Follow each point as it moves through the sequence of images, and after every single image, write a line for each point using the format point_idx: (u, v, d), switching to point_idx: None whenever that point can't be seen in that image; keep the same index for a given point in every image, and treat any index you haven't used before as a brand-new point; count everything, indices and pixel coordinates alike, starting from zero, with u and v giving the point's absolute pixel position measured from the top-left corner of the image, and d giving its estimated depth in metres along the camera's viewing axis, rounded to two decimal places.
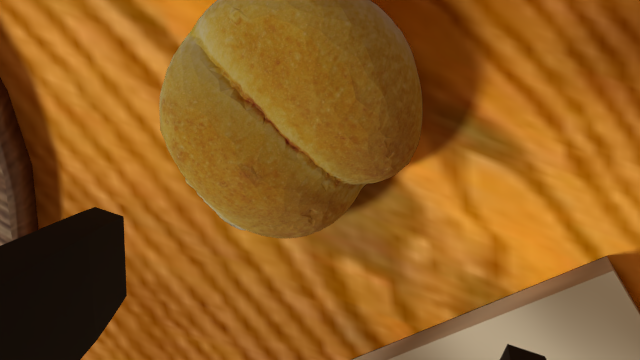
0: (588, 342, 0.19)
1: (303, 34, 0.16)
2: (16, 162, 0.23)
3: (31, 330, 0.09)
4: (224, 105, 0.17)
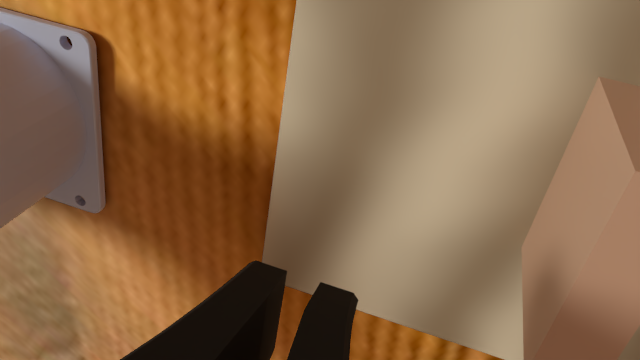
0: None
1: None
2: None
3: None
4: None
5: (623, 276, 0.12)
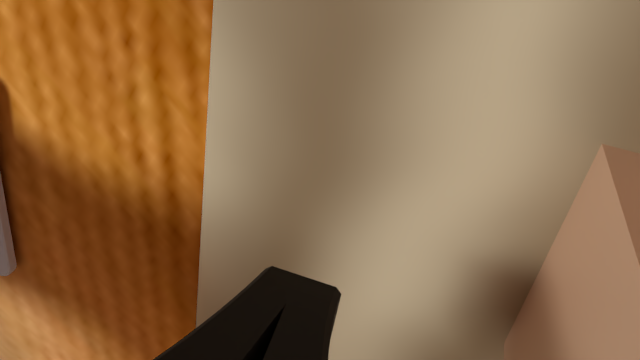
0: None
1: None
2: None
3: None
4: None
5: None
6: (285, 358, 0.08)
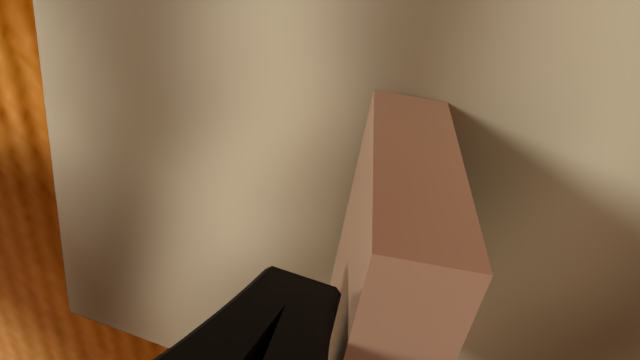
0: None
1: None
2: None
3: None
4: None
5: None
6: (285, 358, 0.08)
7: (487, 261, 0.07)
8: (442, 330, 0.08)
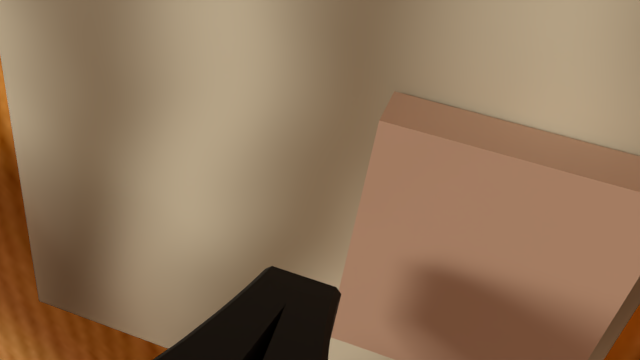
0: None
1: None
2: None
3: None
4: None
5: None
6: (285, 358, 0.08)
7: None
8: None
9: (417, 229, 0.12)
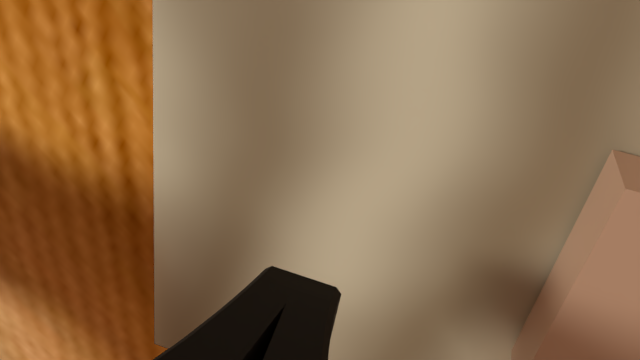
0: None
1: None
2: None
3: None
4: None
5: None
6: (285, 358, 0.08)
7: None
8: None
9: None
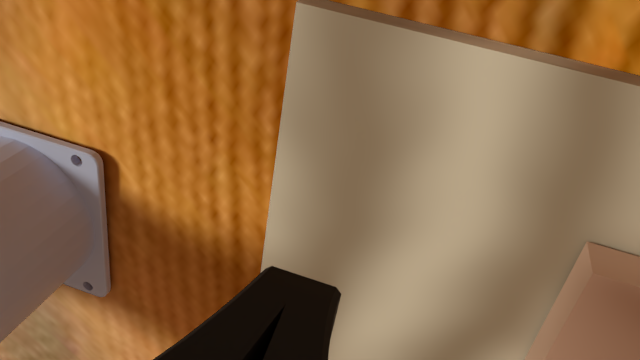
0: None
1: None
2: None
3: None
4: None
5: None
6: (285, 358, 0.08)
7: None
8: None
9: (607, 339, 0.17)
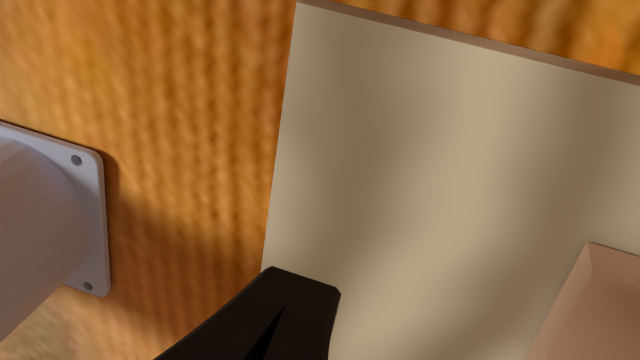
0: None
1: None
2: None
3: None
4: None
5: None
6: (285, 358, 0.08)
7: None
8: None
9: (607, 339, 0.17)
